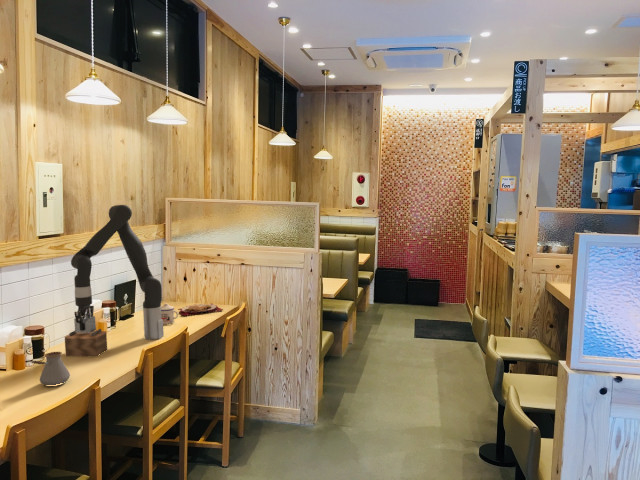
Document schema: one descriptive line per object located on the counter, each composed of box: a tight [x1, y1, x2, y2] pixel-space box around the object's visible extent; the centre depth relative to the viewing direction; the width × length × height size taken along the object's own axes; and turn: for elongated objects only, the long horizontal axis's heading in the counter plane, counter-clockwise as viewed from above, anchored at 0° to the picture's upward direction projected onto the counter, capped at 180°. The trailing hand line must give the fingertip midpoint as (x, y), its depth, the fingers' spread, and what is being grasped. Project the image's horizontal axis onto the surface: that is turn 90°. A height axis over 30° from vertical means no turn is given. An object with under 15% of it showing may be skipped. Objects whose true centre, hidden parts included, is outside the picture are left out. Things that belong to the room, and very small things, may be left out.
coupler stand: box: [64, 328, 108, 357], centre depth 253 cm, size 16×10×11 cm, turn 86°
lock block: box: [73, 315, 97, 333], centre depth 252 cm, size 8×5×7 cm, turn 85°
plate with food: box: [177, 303, 224, 316], centre depth 340 cm, size 25×26×4 cm
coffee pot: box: [27, 351, 71, 386], centre depth 209 cm, size 21×12×15 cm, turn 178°
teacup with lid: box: [161, 302, 179, 325], centre depth 309 cm, size 12×9×12 cm
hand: (85, 328), depth 252 cm, fingers closed on lock block, 5 cm apart
